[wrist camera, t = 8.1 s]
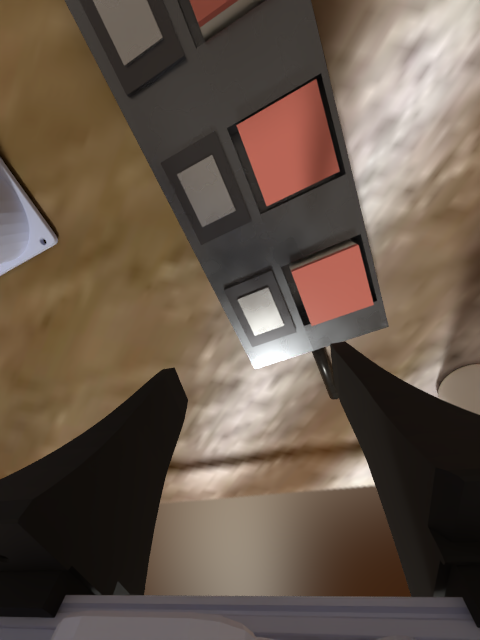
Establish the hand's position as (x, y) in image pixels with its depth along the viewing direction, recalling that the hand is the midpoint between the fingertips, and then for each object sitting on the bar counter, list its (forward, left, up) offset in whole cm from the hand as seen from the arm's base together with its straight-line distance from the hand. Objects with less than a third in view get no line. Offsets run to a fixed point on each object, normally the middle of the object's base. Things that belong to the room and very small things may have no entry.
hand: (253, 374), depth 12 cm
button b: (+5, +8, -9) cm, 13 cm away
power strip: (+3, +5, -10) cm, 11 cm away
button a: (+5, 0, -9) cm, 10 cm away
